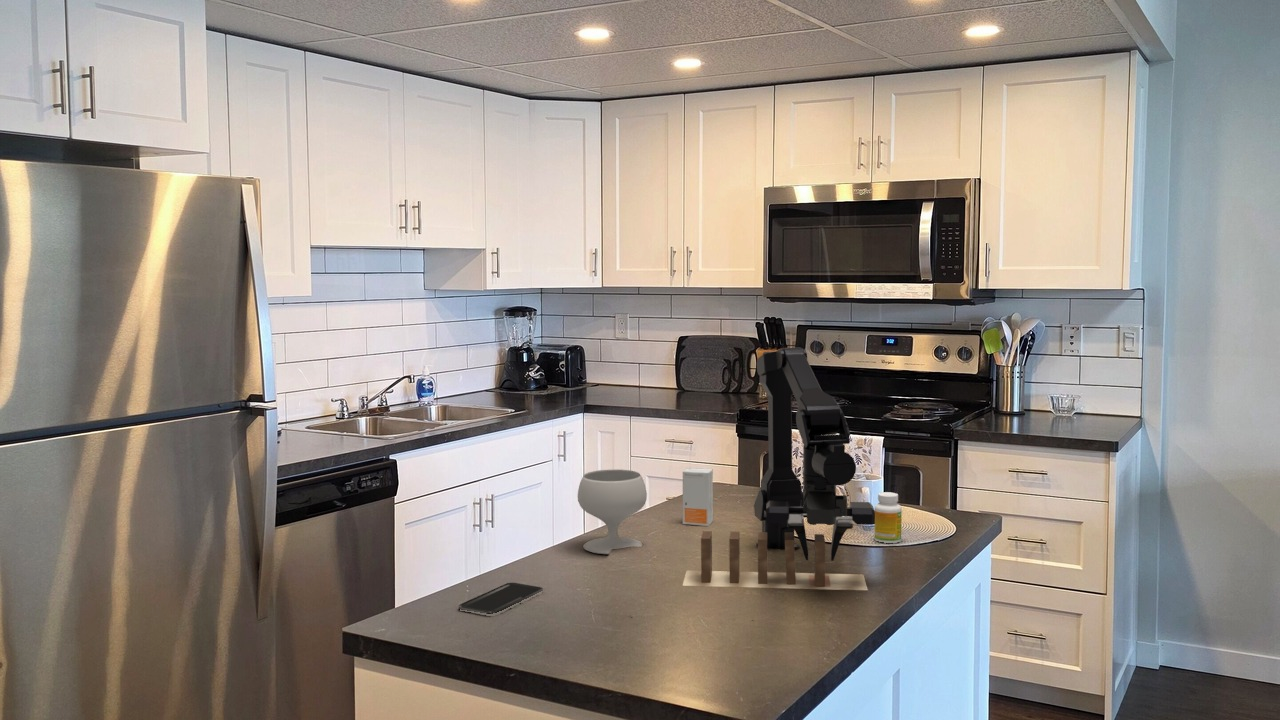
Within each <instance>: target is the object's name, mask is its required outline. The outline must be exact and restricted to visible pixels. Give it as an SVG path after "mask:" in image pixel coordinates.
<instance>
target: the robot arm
mask: <svg viewBox="0 0 1280 720" xmlns="http://www.w3.org/2000/svg"><path fill="white" fill-rule="evenodd" d="M756 373H757V374H758V376H759V382H760V384H761V386H762V388H763V390H764V391H765V393H766V394H767V400H768V401H767V406H768V407H767V411H768V412H767V414H768V417H767V420H768V426H767V428H768V432H767V433H768V435H767V436H768V437H767V438H768V468H767V470H766V472H765V473H764V475H763V476H762V478H761V480H760V490H759V491H758V493H757V495H756V499H755V501H754V504H753V508H754V509H753V510H754V517H756V519H758V520H759V521H761V524H762V525H761V526H762V527H761V528H762V531H761V532H767V550H785V533H789V532H793V533H794V534H796V536H797V538H798V540H799V543H800V545H799V544H796V543H794V550H798V549H800V548H801V550H802V552H803V556H804V558H805V561H809V549H808V541H807V534H806V527H805V520H804V518H806V522H807V524H808V525H810V526H811V525H812V526H816V525H827V526H832V525H833V528H832V535H831V536H832V537H831V545H830V561H831V562H834V560H835V558H836V554H837V551H838V550H839V549H838V548H839V546H840V543H841V541H842V538H843V536H844V535H845V534H846V532H847V530H850V529H851V530H852V529H853V528H854V525H853V522H854V523H855V524H856V525H857V526H858V525H862V526H865V525H866V526H867V525H868V526H869V525H871V526H872V525H875V507H874V506H873V504H872V503H871V502H869V501H849V502H850V503H849V507H848V496H847V495H846V494H845V495H842V494H841V495H840V494H837V486H844V485H846V484H848V483H849V482H850V481H852V480H853V479H854V477H855V475H856V471H857V464H856V462H855V459H854V458H853V455H851V454H849V453H848V452H846V449H845V448H846V447H845V445H847V444H848V445H849V444H850V443H851V442H850V441H851V440H850V436H851V432H850V428H849V425H848V423H847V419H846V416H845V415H844V411H843V409H842V408H841V407H840V405H839V403H838V402H837V401H836V400H835V398H834V397H833V396H832V395H830V394H828V393H826V392H824V391H823V390H822V388H821V386H820V384H819V381H818V379H817V377H816V376H815V373H814V371H813V369H812V367H811V365H810V362H809V360H808V353H807V350H806V348H802V347H782V348H781V349H777V350H776V351H764V352H763V353H762V354H761V355H760V356H759V357H758V358H757V360H756ZM793 396H794V398H795V400H796V402H797V410H796V414H795V423H796V427H797V429H798V430H797V431H798V433H799V435H800V438H801V443H802V444H803V448H802V449H803V450H802V451H803V456H802V457H803V458H802V459H803V460H802V461H803V463H802V464H803V465H802V466H803V468H802V469H803V470H802V471H803V473H802V477H803V478H802V481H803V482H801V480H800V479H799V477H798V476H797V475H796V474H795V472H794V470H793V424H792V423H793V420H792V418H793V416H792V415H793V414H792V413H793V410H792V409H793V407H792V406H793V405H792V399H793ZM802 483H803V485H802ZM802 488H803V489H802ZM755 544H756V546H757V547H758V542H756V543H755Z"/></svg>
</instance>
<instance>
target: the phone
mask: <svg viewBox="0 0 1280 720" xmlns="http://www.w3.org/2000/svg"><path fill="white" fill-rule="evenodd" d="M541 591H544V589H543V587H541V586H535V585H529V584H524V583H518V582H507V583H505V584H502V585H500V586H498V587H496V588H494V589H491V590H489V591H486V592H484V593H482V594H480V595H477V596H475V597H474V598H471V599H469V600H467V601H465V602H463V603H460V604H459V605H458V610H459V609H461V610H467V611H474V612H480V613H486V614H493V613H497V612H499V611H502V610H504V609H506V608H508V607H510V606H512V605H514V604H516V603H519V602H521V601H522V600H524V599H527V598H529V597H531V596H533V595H535V594H537V593H539V592H541Z"/></svg>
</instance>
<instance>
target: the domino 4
mask: <svg viewBox="0 0 1280 720" xmlns="http://www.w3.org/2000/svg"><path fill="white" fill-rule="evenodd" d="M794 544H795V532H794V533H793V532H789V533H785V549H784V555H785V573H786V581H787V585H791V584H796V576H795V573H796V557H795V549H794Z"/></svg>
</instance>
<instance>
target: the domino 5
mask: <svg viewBox="0 0 1280 720" xmlns="http://www.w3.org/2000/svg"><path fill="white" fill-rule="evenodd" d="M814 573H815V585H816V587H825V574H826V540H825V535H824V534H820V533H819V534H818V533H816V534H814Z"/></svg>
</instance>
